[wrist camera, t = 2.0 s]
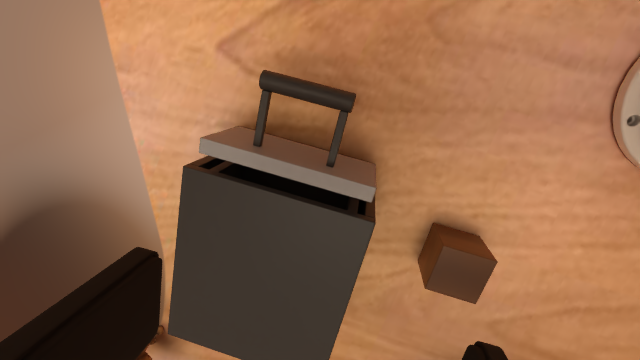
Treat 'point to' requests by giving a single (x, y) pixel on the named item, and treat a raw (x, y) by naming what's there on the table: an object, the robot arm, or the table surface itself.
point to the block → (455, 263)
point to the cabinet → (262, 267)
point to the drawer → (295, 150)
